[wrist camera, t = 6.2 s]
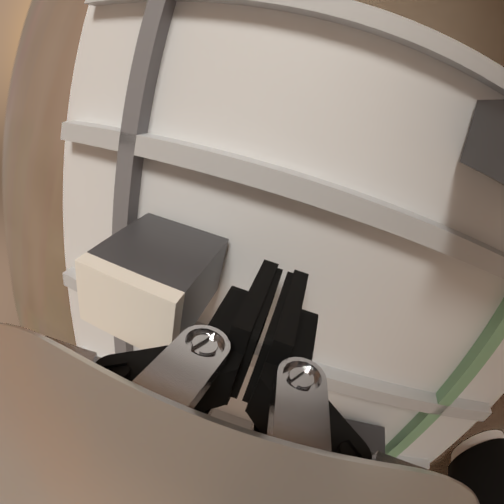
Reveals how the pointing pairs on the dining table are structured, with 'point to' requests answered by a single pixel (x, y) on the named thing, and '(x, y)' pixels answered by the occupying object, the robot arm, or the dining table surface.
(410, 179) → the board
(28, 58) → the dining table surface
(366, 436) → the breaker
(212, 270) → the block
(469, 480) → the dixie cup
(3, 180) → the dining table surface
